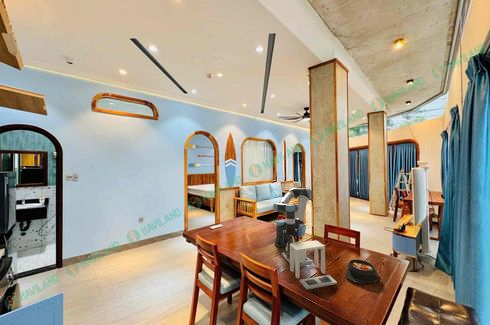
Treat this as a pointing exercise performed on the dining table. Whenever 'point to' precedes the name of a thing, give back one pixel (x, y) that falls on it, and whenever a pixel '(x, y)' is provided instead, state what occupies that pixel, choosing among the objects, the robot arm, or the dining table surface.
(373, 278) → the casserole
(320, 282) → the open rectangular frame
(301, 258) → the jar
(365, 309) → the dining table surface
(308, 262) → the picture frame
